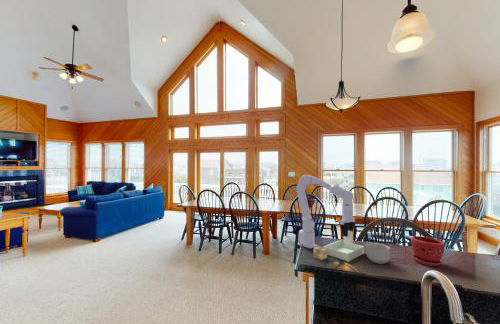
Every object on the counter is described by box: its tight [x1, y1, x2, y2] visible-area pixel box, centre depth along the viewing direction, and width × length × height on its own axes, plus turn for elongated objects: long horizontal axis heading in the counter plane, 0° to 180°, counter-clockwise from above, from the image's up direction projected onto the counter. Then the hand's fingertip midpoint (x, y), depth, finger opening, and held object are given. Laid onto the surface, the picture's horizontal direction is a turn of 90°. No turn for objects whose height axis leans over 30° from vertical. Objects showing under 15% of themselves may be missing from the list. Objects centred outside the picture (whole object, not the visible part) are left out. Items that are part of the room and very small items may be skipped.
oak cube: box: [312, 245, 328, 261], centre depth 116 cm, size 5×5×5 cm
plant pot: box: [410, 235, 445, 267], centre depth 112 cm, size 13×13×12 cm
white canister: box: [342, 230, 354, 245], centre depth 125 cm, size 5×5×7 cm
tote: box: [322, 239, 365, 263], centre depth 123 cm, size 14×19×4 cm
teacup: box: [365, 242, 391, 265], centre depth 114 cm, size 14×11×8 cm
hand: (347, 235), depth 126 cm, fingers closed on white canister, 5 cm apart
